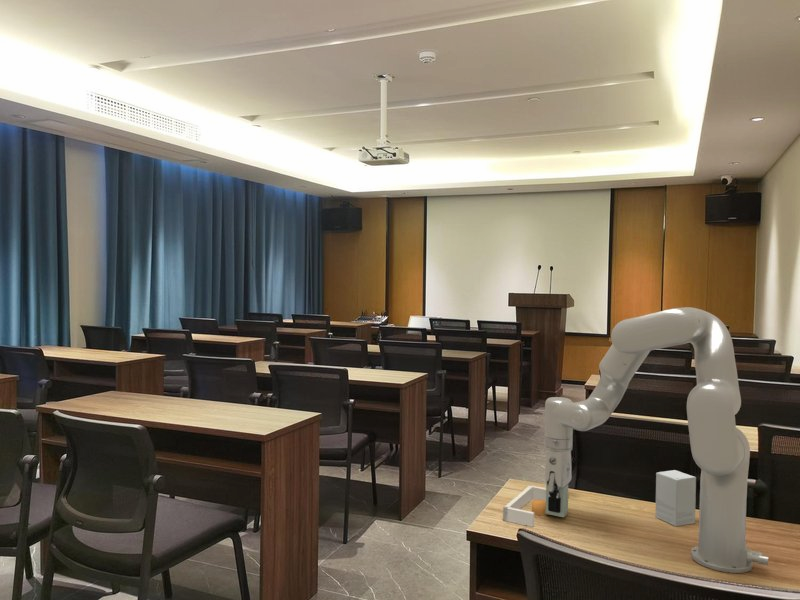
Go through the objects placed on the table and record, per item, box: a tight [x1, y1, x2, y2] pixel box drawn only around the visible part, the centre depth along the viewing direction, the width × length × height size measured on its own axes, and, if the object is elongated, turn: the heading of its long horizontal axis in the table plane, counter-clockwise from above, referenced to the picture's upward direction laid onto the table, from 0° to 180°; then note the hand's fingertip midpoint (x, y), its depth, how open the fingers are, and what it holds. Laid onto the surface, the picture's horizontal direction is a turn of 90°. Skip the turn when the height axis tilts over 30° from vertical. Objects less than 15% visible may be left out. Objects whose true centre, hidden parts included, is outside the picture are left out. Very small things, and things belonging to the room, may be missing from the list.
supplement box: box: [655, 469, 697, 527], centre depth 164 cm, size 7×7×13 cm
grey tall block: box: [545, 483, 569, 518], centre depth 165 cm, size 5×4×8 cm
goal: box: [502, 484, 546, 528], centre depth 169 cm, size 8×22×4 cm, turn 150°
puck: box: [531, 499, 549, 517], centre depth 167 cm, size 4×4×3 cm
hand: (556, 508), depth 165 cm, fingers closed on grey tall block, 4 cm apart
